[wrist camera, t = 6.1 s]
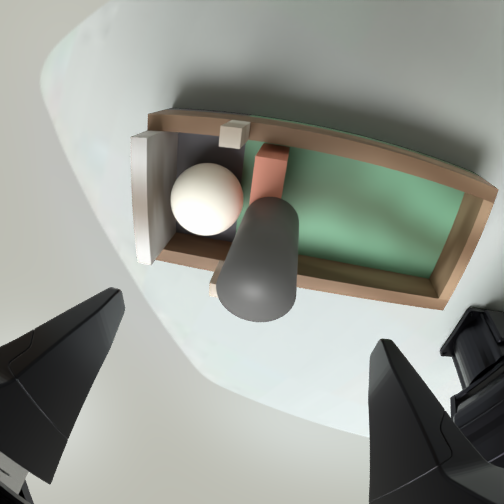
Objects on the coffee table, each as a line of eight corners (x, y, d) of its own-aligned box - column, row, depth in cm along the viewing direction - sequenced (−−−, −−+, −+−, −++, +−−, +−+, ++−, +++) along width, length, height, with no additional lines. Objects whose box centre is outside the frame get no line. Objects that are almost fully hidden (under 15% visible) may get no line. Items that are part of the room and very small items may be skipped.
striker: (289, 248, 21) (278, 357, 13) (247, 241, 21) (212, 344, 13) (309, 150, 17) (316, 215, 9) (260, 142, 18) (222, 198, 9)
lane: (430, 283, 22) (452, 333, 17) (169, 235, 24) (135, 279, 18) (474, 172, 17) (519, 205, 12) (171, 108, 18) (126, 120, 13)
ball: (161, 222, 19) (219, 211, 22) (187, 256, 17) (252, 240, 19) (161, 158, 17) (224, 152, 19) (188, 180, 14) (262, 172, 16)
